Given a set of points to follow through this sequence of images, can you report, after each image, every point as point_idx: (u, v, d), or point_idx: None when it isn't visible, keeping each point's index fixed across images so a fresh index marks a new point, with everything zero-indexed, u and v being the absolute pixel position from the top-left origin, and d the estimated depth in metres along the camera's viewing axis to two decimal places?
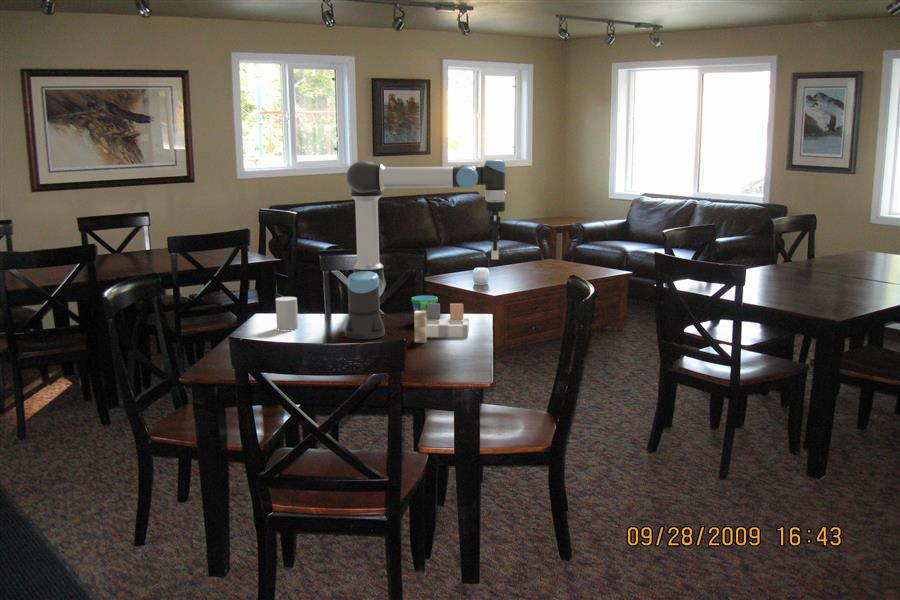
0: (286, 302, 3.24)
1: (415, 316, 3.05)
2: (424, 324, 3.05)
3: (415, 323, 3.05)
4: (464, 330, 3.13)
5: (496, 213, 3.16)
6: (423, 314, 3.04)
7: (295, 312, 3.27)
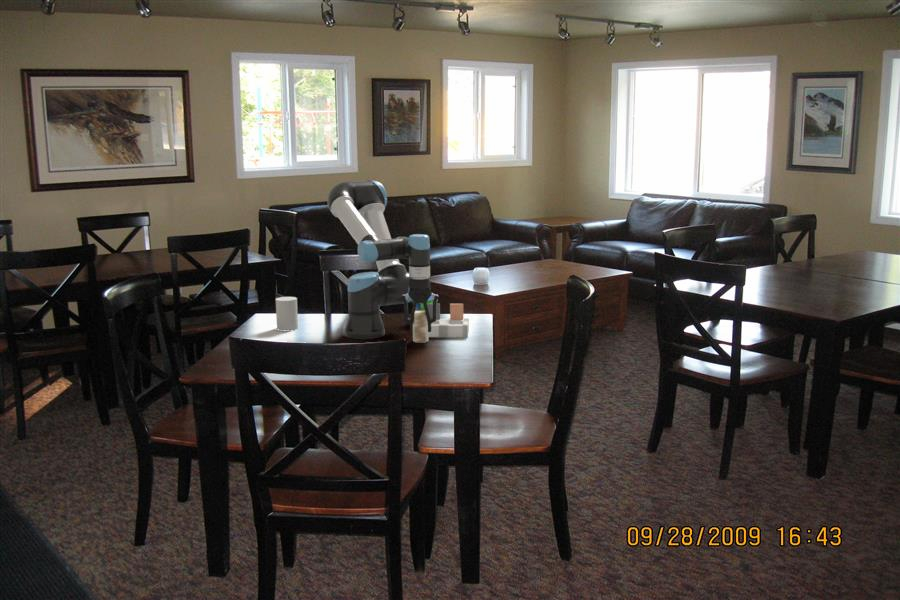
0: (286, 302, 3.24)
1: (415, 316, 3.05)
2: (424, 324, 3.05)
3: (415, 323, 3.05)
4: (464, 330, 3.13)
5: (409, 289, 3.04)
6: (423, 314, 3.04)
7: (295, 312, 3.27)
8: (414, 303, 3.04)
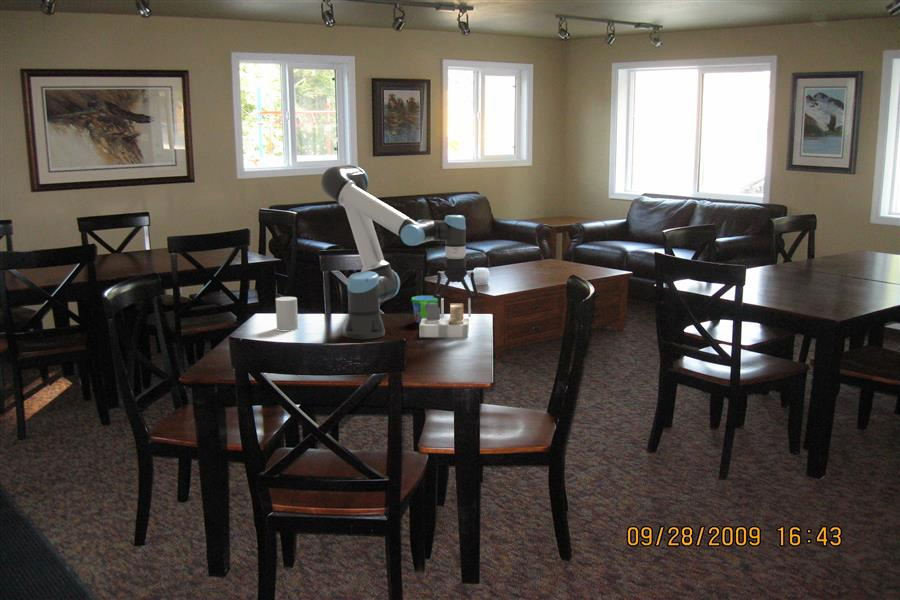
0: (286, 302, 3.24)
1: (451, 310, 3.14)
2: (460, 318, 3.15)
3: (451, 317, 3.15)
4: (464, 330, 3.13)
5: (445, 269, 3.13)
6: (459, 308, 3.14)
7: (295, 312, 3.27)
8: (448, 281, 3.12)
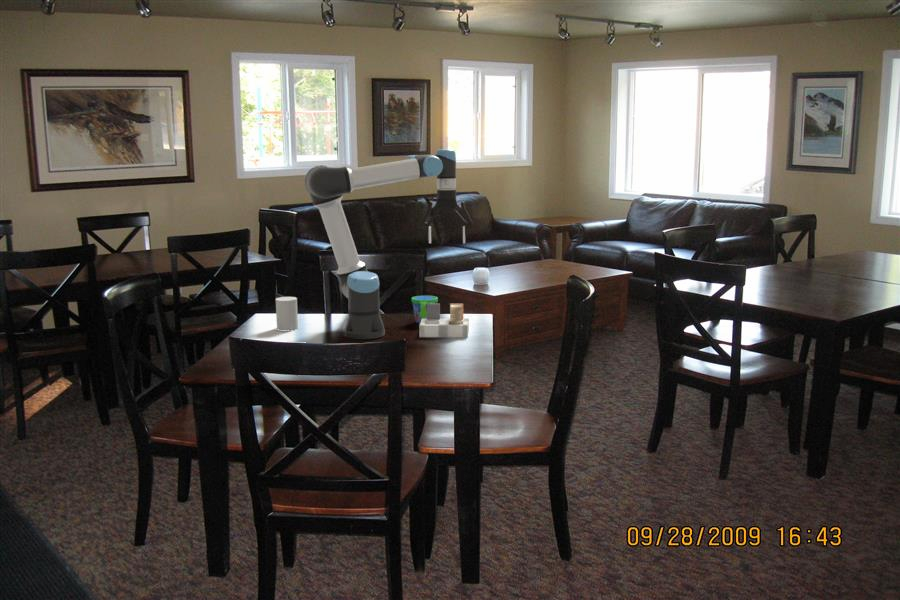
0: (286, 302, 3.24)
1: (451, 310, 3.14)
2: (460, 318, 3.15)
3: (451, 317, 3.15)
4: (464, 330, 3.13)
5: (437, 200, 3.31)
6: (459, 308, 3.14)
7: (295, 312, 3.27)
8: (438, 211, 3.31)
